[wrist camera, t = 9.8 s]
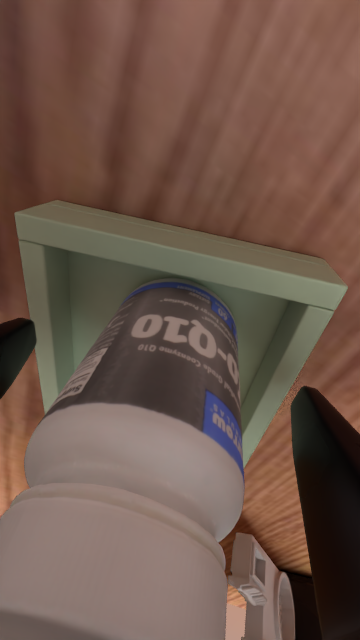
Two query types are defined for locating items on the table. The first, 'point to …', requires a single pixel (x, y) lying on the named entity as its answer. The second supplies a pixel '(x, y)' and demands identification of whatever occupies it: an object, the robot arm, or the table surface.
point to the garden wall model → (262, 592)
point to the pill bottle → (132, 481)
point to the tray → (171, 262)
